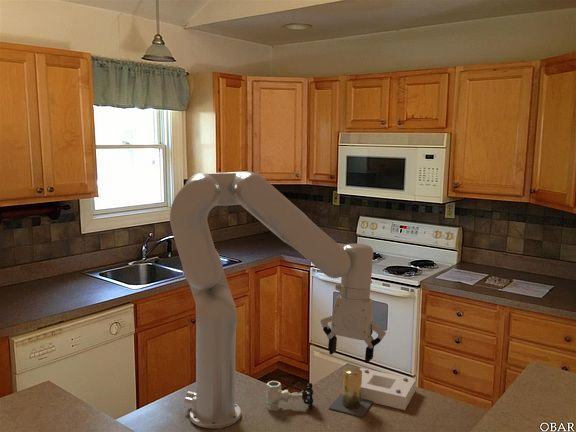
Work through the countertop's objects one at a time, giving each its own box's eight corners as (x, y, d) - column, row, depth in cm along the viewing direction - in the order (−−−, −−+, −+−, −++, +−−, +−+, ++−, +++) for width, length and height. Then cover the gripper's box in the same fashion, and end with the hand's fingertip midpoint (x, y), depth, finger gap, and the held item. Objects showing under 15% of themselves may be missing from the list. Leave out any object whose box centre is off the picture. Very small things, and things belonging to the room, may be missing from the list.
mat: (328, 409, 133) (328, 407, 133) (341, 394, 141) (341, 393, 141) (362, 417, 129) (362, 416, 129) (372, 402, 137) (373, 401, 137)
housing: (346, 396, 141) (346, 382, 140) (360, 379, 151) (360, 366, 151) (404, 410, 134) (405, 395, 133) (415, 391, 144) (415, 378, 144)
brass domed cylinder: (339, 406, 134) (340, 373, 133) (345, 398, 138) (346, 366, 137) (357, 410, 132) (358, 377, 131) (362, 402, 136) (364, 370, 135)
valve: (265, 414, 130) (312, 414, 131) (265, 389, 129) (313, 389, 130) (265, 402, 137) (310, 401, 137) (265, 378, 136) (310, 378, 137)
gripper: (318, 289, 132) (313, 354, 134) (384, 301, 125) (378, 369, 126) (329, 284, 139) (324, 345, 141) (392, 295, 131) (386, 359, 133)
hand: (349, 356), depth 134 cm, fingers open, 9 cm apart
